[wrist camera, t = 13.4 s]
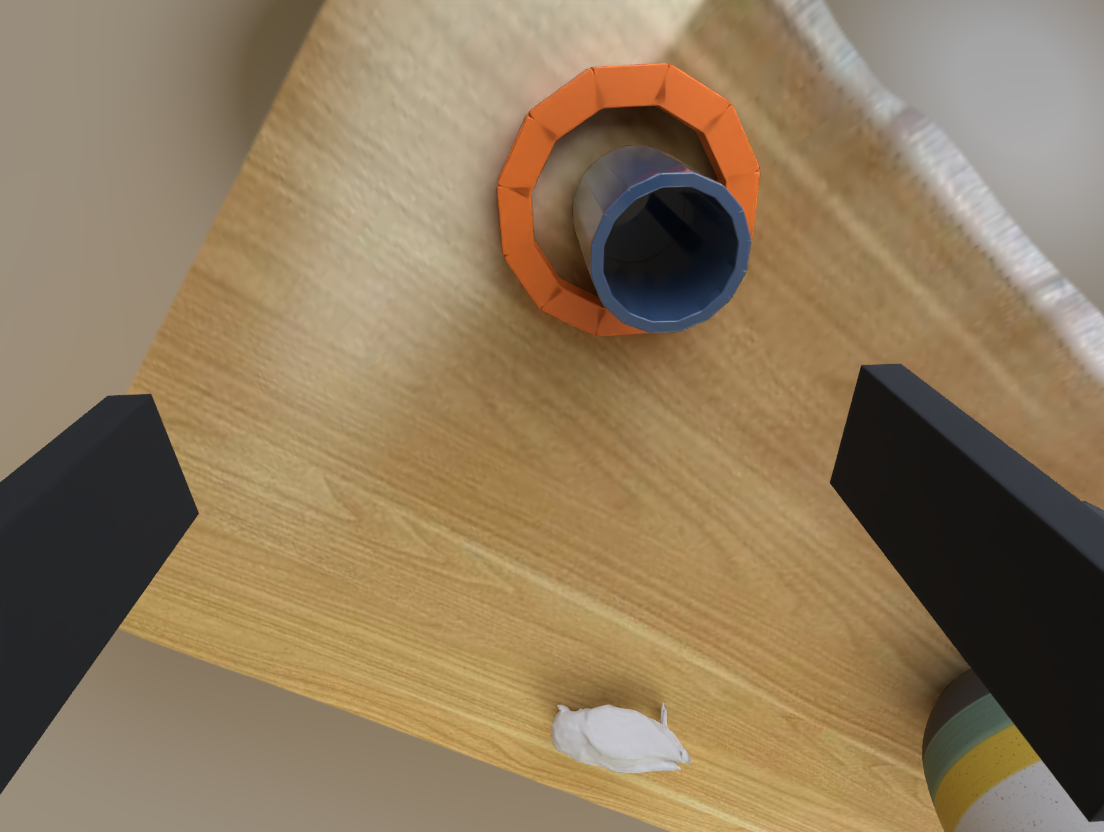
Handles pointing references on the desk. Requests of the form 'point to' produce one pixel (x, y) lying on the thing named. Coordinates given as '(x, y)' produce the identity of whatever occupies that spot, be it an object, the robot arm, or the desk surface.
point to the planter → (990, 769)
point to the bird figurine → (617, 739)
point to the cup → (659, 239)
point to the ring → (570, 110)
